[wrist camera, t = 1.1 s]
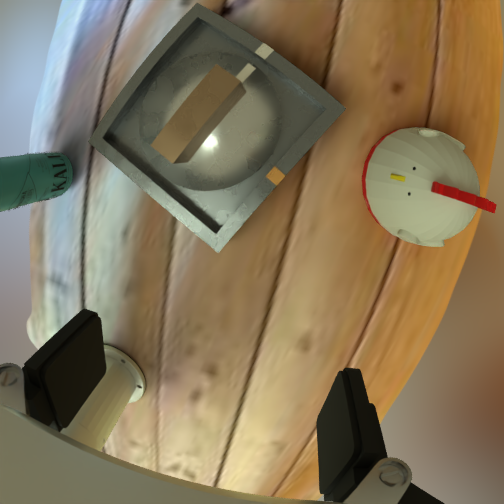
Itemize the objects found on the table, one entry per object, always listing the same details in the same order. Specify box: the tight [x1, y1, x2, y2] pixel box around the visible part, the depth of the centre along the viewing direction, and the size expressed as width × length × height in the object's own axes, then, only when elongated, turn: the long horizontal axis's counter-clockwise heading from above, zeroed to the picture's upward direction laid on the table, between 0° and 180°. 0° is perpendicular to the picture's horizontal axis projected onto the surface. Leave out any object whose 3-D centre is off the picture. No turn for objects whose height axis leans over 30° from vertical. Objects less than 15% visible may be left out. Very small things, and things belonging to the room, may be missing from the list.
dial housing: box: [88, 3, 346, 253], centre depth 32 cm, size 21×21×4 cm
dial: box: [139, 52, 281, 191], centre depth 29 cm, size 16×16×6 cm
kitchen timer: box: [362, 127, 496, 247], centre depth 27 cm, size 14×14×15 cm
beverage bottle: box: [0, 151, 73, 212], centre depth 28 cm, size 6×7×20 cm
